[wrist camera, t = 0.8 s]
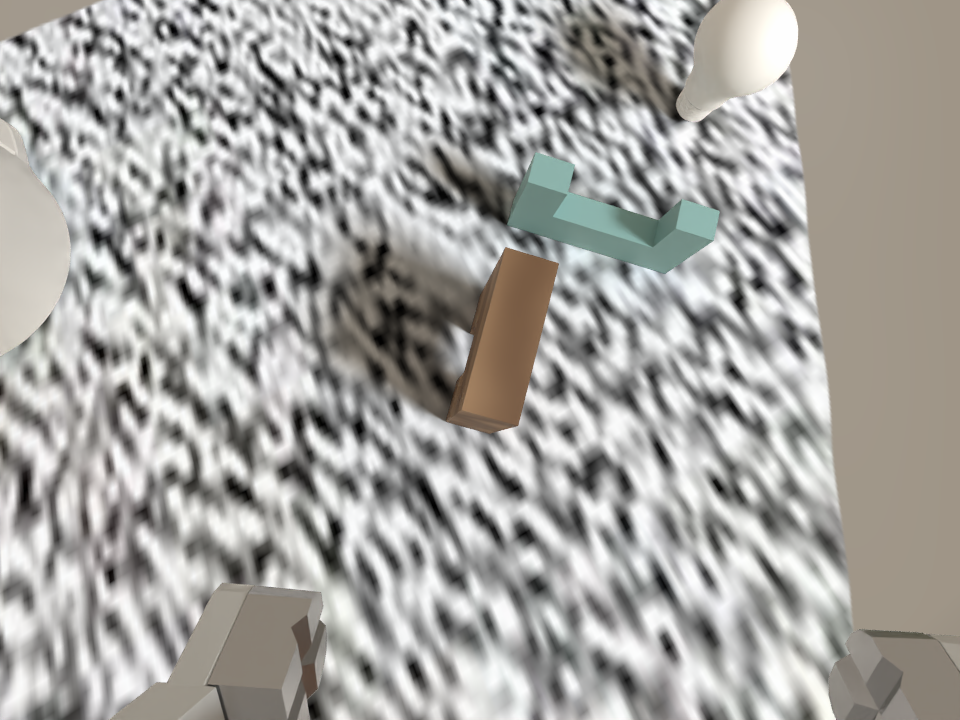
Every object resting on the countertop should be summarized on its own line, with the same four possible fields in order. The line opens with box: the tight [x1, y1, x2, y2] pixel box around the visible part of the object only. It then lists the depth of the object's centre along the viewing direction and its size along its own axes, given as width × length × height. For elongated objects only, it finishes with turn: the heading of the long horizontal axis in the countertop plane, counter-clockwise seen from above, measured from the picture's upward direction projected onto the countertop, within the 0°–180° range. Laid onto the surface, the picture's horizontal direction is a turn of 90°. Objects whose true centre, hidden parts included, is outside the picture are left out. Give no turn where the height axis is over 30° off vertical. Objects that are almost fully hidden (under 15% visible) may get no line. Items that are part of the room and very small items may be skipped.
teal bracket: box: [507, 152, 720, 274], centre depth 41 cm, size 12×2×7 cm, turn 75°
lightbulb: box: [676, 0, 798, 122], centre depth 42 cm, size 6×6×11 cm
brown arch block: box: [446, 247, 559, 434], centre depth 37 cm, size 3×9×10 cm, turn 165°
